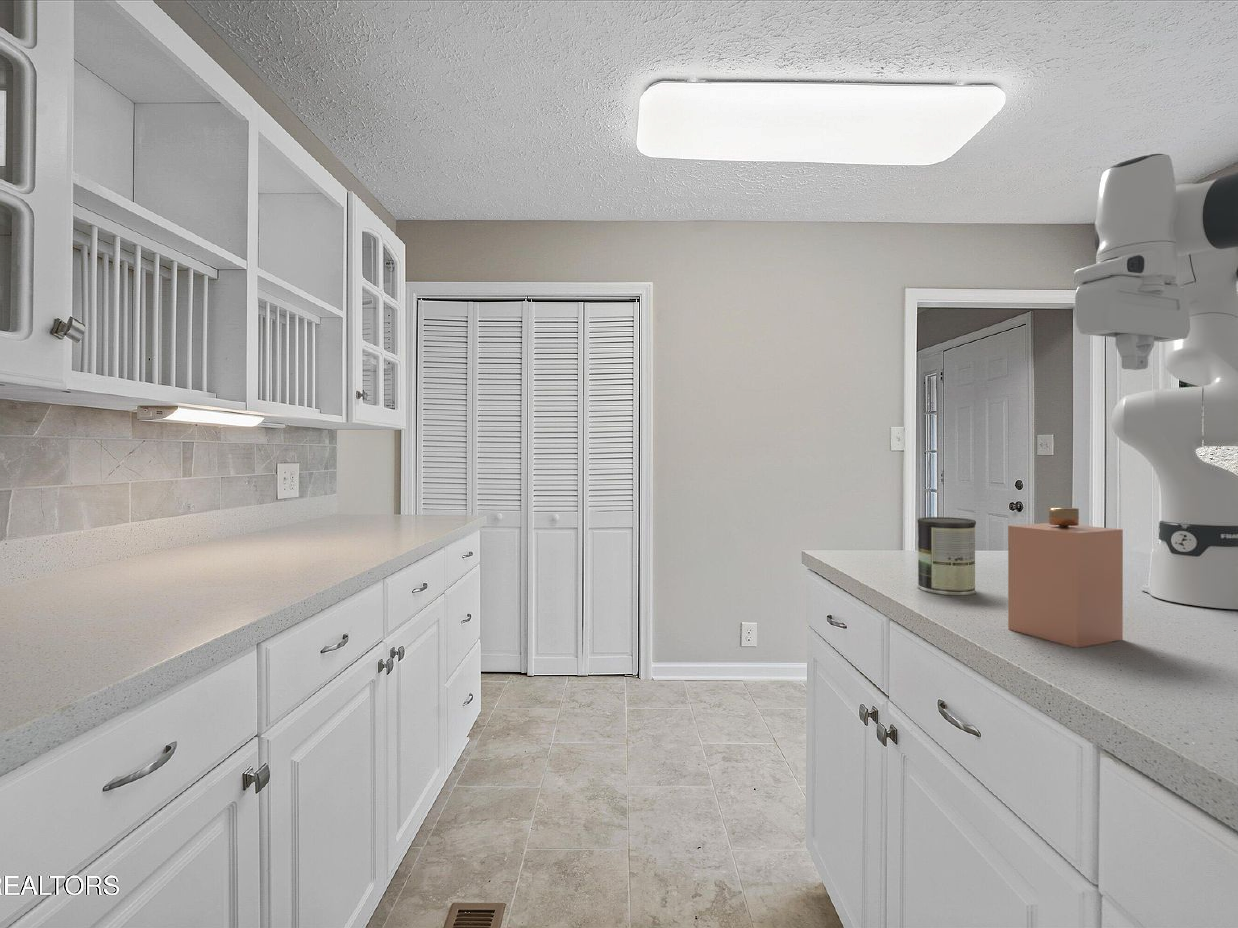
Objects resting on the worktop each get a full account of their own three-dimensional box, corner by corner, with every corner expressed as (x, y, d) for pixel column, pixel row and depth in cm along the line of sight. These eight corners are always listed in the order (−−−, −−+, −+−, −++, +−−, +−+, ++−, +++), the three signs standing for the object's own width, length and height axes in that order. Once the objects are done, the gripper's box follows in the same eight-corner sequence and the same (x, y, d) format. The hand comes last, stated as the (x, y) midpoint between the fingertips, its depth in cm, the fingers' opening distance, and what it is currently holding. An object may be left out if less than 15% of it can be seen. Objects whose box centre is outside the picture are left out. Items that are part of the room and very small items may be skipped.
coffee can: (906, 588, 124) (906, 518, 124) (936, 582, 129) (936, 515, 129) (957, 598, 115) (956, 523, 115) (986, 591, 120) (986, 520, 120)
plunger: (1054, 587, 96) (1054, 505, 96) (1109, 598, 89) (1109, 509, 89) (1020, 592, 94) (1020, 507, 93) (1073, 603, 86) (1073, 511, 86)
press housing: (1052, 622, 98) (1052, 522, 98) (1122, 639, 89) (1122, 529, 88) (1008, 629, 94) (1008, 525, 94) (1077, 647, 85) (1077, 533, 85)
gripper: (1153, 285, 94) (1153, 374, 94) (1065, 271, 87) (1065, 368, 87) (1205, 273, 88) (1204, 369, 88) (1115, 257, 81) (1114, 362, 81)
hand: (1134, 369), depth 88 cm, fingers closed
